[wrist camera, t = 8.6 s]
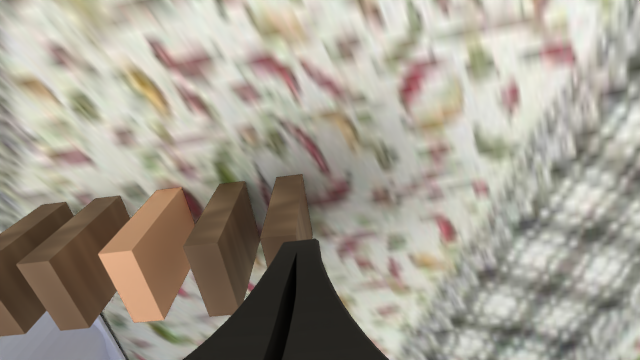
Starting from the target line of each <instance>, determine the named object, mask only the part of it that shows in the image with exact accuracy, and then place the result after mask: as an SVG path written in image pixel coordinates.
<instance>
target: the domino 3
mask: <svg viewBox="0 0 640 360" xmlns="http://www.w3.org/2000/svg"><path fill="white" fill-rule="evenodd" d="M194 227H195V224H194V221H193V218H192V215H191V212H190V209H189V206H188V204H187V201H186V198H185V195H184V192H183V189H182V187H179V188H171V189H162V190H156V192H155V193H154V194H153V195H152V196H151V197H150V198H149V199H148V200H147V201H146V202H145V204H144V205H143V206H142V207H141V208H140V209H139V210H138V211H137V212H136V213H135V214H134V215H133V217H132V218H131V219H130V220H129V221H128V222H127V223H126V224H125V225H124V226H123V227H122V229H121V230H120V231H119V232H118V233H117V234H116V235H115V236H114V237H113V238H112V239H111V240H110V242H109V243H108V244H107V245H106V246H105V247H104V248H103V249H102V250H101V251H100V252H99V254H98V255H99V257H100V259H101V261H102V263H103V265H104V267H105V269H106V271H107V272H108V274H109V276H110V278H111V280H112V282H113V284H114V286H115V288H116V290H117V291H118V293H119V295H120V297H121V299H122V301H123V303H124V305H125V307H126V309H127V310H128V312H129V314H130V316H131V318H132V320H133V322H134V323H137V322H147V321H158V320H164V319H165V317H166V315H167V313H168V311H169V309H170V307H171V305H172V303H173V301H174V299H175V297H176V295H177V293H178V291H179V289H180V287H181V286H182V284H183V282H184V280H185V278H186V276H187V274H188V272H189V270H190V268H191V267H190V264H189V262H188V259H187V256H186V254H185V251H184V249H183V245H184V244H185V242H186V240H187V238H188V237H189V235H190V233H191V232H192V230H193V228H194Z"/></svg>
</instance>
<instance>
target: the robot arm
mask: <svg viewBox="0 0 640 360" xmlns="http://www.w3.org/2000/svg"><path fill="white" fill-rule="evenodd" d="M0 360H126V359H125V357H124V355H123V353H122V352H121V350H120V348H119V347H118V345H117V343H116V341H115V340H114V338H113V336H112V334H111V333H110V331H109V329H108V328H107V326H106V324H105V322H104V321H103V319H102V317H101V315H99V316H98V317H97V319H96V320H95V321H94V323H93V324H92V326H91V327H90V328H86V329H75V330H64V331H60V329H59V328H58V326H57V325H56V323H55V322H54V321H53V319H52V318H51V316H50V315H49V313H48V312H47V311H46V312H45V313H44V314H43V315H42V317H41V318H40V319H39V320H38V321H37V322H36V323H35V324H34V325H33V326H32V327H31V329H30V330H29V331H28V332H27V333H26V334H22V335H11V336H2V337H1V338H0ZM183 360H389V359H388V358H387V357H386V356H385V355H384V354H383V353H382V352H381V351H380V350H379V349H378V348H377V347H376V346H375V345H374V344H373V343H372V341H371V340H370V339H369V338H368V337H367V336H366V335H365V333H364V332H363V331H362V329H361V328H360V327H359V326H358V324H357V323H356V322H355V321H354V319H353V318H352V317H351V315H350V314H349V312H348V311H347V309H346V308H345V306H344V305H343V303H342V301H341V300H340V298H339V296H338V295H337V293H336V291H335V289H334V287H333V285H332V283H331V281H330V279H329V277H328V275H327V272H326V270H325V268H324V265H323V262H322V258H321V252H320V246H319V241H318V240H316V239H308V240H299V241H289V242H284V243H283V244H282V245H281V247H280V249H279V250H278V252H277V254H276V256H275V257H274V259H273V261H272V262H271V264H270V265H269V267H268V269H267V270H266V272H265V273H264V275H263V276H262V278H261V279H260V281H259V282H258V283H257V285H256V286H255V287H254V289H253V290H252V291H251V293H250V294H249V295H248V297H247V298H246V299H245V301H244V302H243V303H242V304H241V305H240V307H239V308H238V309H237V310H236V311H235V312H234V313H233V314H232V316H231V317H230V318H229V319H228V320H227V321H226V322H225V323H224V324H223V325H222V326H221V327H220V328H219V329H218V330H217V331H216V332H215V333H214V334H212V335H211V336H210V337H209V338H208V339H207V340H206V341H205V342H204V343H202V344H201V345H200V346H199V347H198V348H197V349H195V350H194V351H193V352H192V353H190V354H189V355H188V356H187V357H185V358H184V359H183Z"/></svg>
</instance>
